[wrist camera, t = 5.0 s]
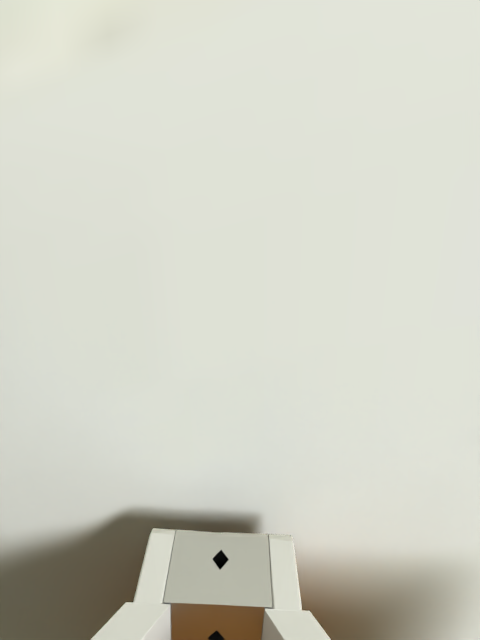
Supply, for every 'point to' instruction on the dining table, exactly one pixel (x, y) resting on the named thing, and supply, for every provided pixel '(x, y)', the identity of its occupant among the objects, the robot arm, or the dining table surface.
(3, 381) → the dining table surface
